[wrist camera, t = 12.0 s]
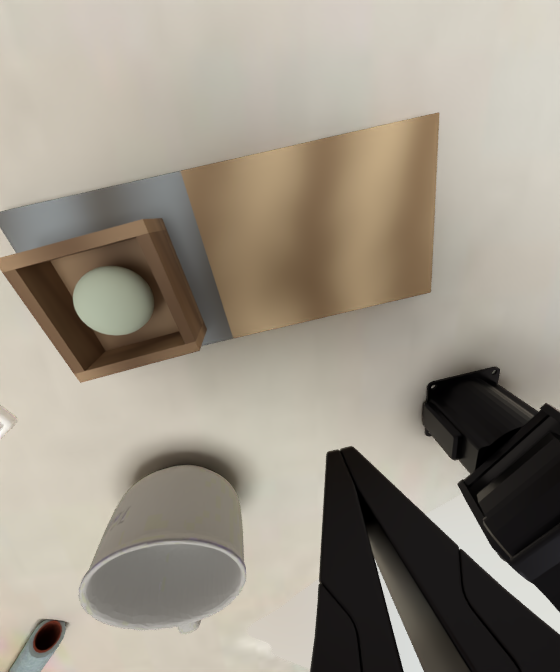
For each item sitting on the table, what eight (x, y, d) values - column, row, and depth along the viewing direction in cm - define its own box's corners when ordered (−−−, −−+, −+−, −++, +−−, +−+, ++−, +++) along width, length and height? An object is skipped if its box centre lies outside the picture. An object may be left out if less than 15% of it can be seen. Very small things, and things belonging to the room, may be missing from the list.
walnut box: (161, 218, 15) (142, 219, 12) (206, 329, 18) (199, 350, 15) (40, 251, 15) (-7, 259, 12) (106, 356, 18) (80, 382, 15)
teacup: (122, 444, 22) (61, 555, 15) (251, 446, 24) (252, 546, 17) (136, 542, 28) (97, 657, 21) (240, 538, 30) (237, 643, 22)
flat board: (427, 118, 15) (439, 112, 14) (422, 288, 19) (430, 292, 18) (7, 213, 15) (-9, 213, 14) (97, 364, 19) (90, 371, 18)
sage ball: (122, 266, 16) (146, 251, 13) (149, 322, 17) (176, 317, 14) (51, 283, 13) (64, 268, 11) (88, 347, 14) (107, 346, 12)
